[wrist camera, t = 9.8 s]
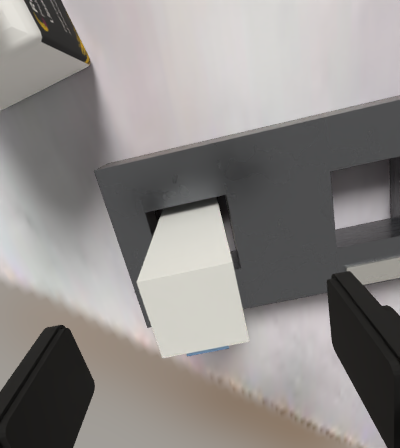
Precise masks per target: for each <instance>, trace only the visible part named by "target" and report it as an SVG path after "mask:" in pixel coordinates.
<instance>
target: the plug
mask: <svg viewBox="0 0 400 448" xmlns="http://www.w3.org/2000/svg"><path fill="white" fill-rule="evenodd" d="M137 285H138V288H139V291H140V294H141V297H142V300H143V303H144V306H145V309H146V312H147V315H148V318H149V321H150V324H151V326H152V329H153V332H154V335H155V338H156V341H157V344H158V347H159V350H160V353H161V356H162V358H167V357H172V356H177V355H182V354H187V356H192V355H197V354H202V353H207V352H213V351H218V350H223V349H228V348H229V345H234V344H239V343H245V342H250V341H249V336H248V331H247V327H246V322H245V318H244V313H243V308H242V304H241V299H240V294H239V290H238V285H237V280H236V276H235V271H234V266H233V262H232V258H231V254H230V250H229V246H228V242H227V238H226V234H225V229H224V225H223V221H222V217H221V213H220V209H219V205H218V201H217V197H213V198H209V199H204V200H199V201H195V202H190V203H186V204H181V205H177V206H172V207H168V208H163V210H162V213H161V216H160V219H159V222H158V224H157V227H156V230H155V233H154V235H153V238H152V241H151V244H150V246H149V249H148V252H147V255H146V258H145V260H144V263H143V266H142V269H141V271H140V274H139V277H138V280H137Z"/></svg>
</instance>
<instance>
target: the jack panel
mask: <svg viewBox="0 0 400 448" xmlns="http://www.w3.org/2000/svg"><path fill="white" fill-rule="evenodd" d="M385 159H390V197H391V218H390V219H385V220H380V221H375V222H371V223H366V224H361V225H356V226H351V227H347V228H342V229H337V230H335V222H334V210H333V198H332V186H331V174H330V172H331V171H335V170H340V169H344V168H349V167H353V166H358V165H362V164H367V163H371V162H376V161H381V160H385ZM94 172H95V175H96V178H97V181H98V184H99V187H100V190H101V193H102V196H103V199H104V202H105V205H106V208H107V210H108V213H109V216H110V219H111V222H112V225H113V228H114V231H115V234H116V237H117V240H118V243H119V246H120V249H121V251H122V254H123V257H124V260H125V263H126V266H127V269H128V272H129V275H130V278H131V281H132V284H133V287H134V290H135V293H136V295H137V298H138V301H139V304H140V307H141V310H142V313H143V316H144V319H145V322H146V325H147V328H149V327H152V326H151V324H150V321H149V318H148V315H147V312H146V309H145V306H144V303H143V300H142V297H141V294H140V291H139V288H138V285H137V280H138V277H139V274H140V271H141V269H142V266H143V263H144V260H145V258H146V255H147V252H148V249H149V246H150V244H151V241H152V238H153V235H154V233H155V230H156V227H157V224H158V222H157V219H156V215H155V212H154V210H159V209H163V208H168V207H172V206H177V205H181V204H186V203H190V202H195V201H199V200H204V199H209V198H213V197H218V196H222V195H225V198H226V203H227V208H228V213H229V218H230V223H231V228H232V233H233V238H234V243H235V248H236V251H232V252H230V254H231V258H232V262H233V266H234V271H235V276H236V280H237V285H238V290H239V294H240V299H241V304H242V308H243V309H246V308H251V307H256V306H261V305H266V304H272V303H277V302H282V301H287V300H292V299H297V298H302V297H307V296H312V295H317V294H323V293H328V292H327V280H328V279H331V276H332V274H335V273H341V272H346V271H350V272H352V273H353V275H354V276H355V277H356V278H357V279H358V280H359V281H360V282H361V283H362V285H368V284H374V283H379V282H384V281H389V280H394V279H399V278H400V95H399V96H395V97H391V98H387V99H382V100H378V101H374V102H369V103H365V104H361V105H357V106H352V107H348V108H344V109H339V110H335V111H331V112H327V113H322V114H318V115H314V116H309V117H305V118H301V119H297V120H292V121H288V122H284V123H279V124H275V125H271V126H267V127H262V128H258V129H254V130H249V131H245V132H241V133H237V134H232V135H228V136H224V137H219V138H215V139H211V140H207V141H202V142H198V143H194V144H189V145H185V146H181V147H177V148H172V149H168V150H164V151H159V152H155V153H151V154H147V155H142V156H138V157H134V158H129V159H125V160H121V161H117V162H112V163H108V164H106V165H104V166H102V167H100V168H98V169H96V170H95V171H94Z"/></svg>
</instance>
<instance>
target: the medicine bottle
mask: <svg viewBox="0 0 400 448" xmlns="http://www.w3.org/2000/svg"><path fill="white" fill-rule="evenodd" d="M89 65H90V58H89V56H88V54H87V52H86V50H85V48H84V46H83V44H82V42H81V40H80V38H79V36H78V34H77V32H76V30H75V28H74V26H73V24H72V22H71V20H70V18H69V16H68V14H67V12H66V10H65V8H64V6H63V4H62V2H61V0H0V110H4V109H6V108H7V107H9V106H11V105H13V104H15V103H17V102H19V101H21V100H23V99H25V98H27V97H29V96H31V95H33V94H35V93H37V92H39V91H41V90H43V89H45V88H47V87H49V86H51V85H53V84H55V83H57V82H59V81H61V80H63V79H65V78H67V77H69V76H71V75H73V74H75V73H77V72H79V71H81V70H83V69H85V68H87V67H88V66H89Z"/></svg>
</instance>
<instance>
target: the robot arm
mask: <svg viewBox="0 0 400 448" xmlns="http://www.w3.org/2000/svg"><path fill="white" fill-rule="evenodd" d="M327 292H328V303H329V315H330V326H331V337H332V344H333V347H334V350H335V352H336V354H337V356H338V358H339V359H340V361H341V363H342V365H343V367H344V369H345V370H346V372H347V374H348V376H349V378H350V380H351V381H352V383H353V385H354V387H355V389H356V391H357V393H358V394H359V396H360V398H361V400H362V402H363V404H364V405H365V407H366V409H367V411H368V413H369V415H370V416H371V418H372V420H373V422H374V424H375V426H376V428H377V429H378V431H379V433H380V435H381V437H382V439H383V440H384V442H385V444H386V446H387V448H400V316H399V315H398V314H397V312H396V311H395V310H394V309H393V308H391V307H390V306H387V305H386V306H381V305H380V304H379V302H378V301H377V300H376V299H375V298H374V297H373V296H372V295H371V293H370V292H369V291H368V290H367V289H366V288H365V287H364V286H363V285H362V283H361V282H360V281H359V280H358V279H357V278H356V277H355V276H354V275H353V273H352V272H350V271H346V272H341V273H335V274H332V276H331V279H328V280H327ZM94 388H95V385H94V380H93V378H92V376H91V374H90V371H89V369H88V367H87V365H86V363H85V361H84V359H83V356H82V355H81V352H80V350H79V348H78V346H77V344H76V342H75V339H74V337H73V335H72V333H71V331H70V329H68V328H65V326H63V325H58V326H53V327H47V328H45V329H44V331H43V332H42V333H41V334H40V336H39V337H38V339H37V340H36V342H35V343H34V345H33V346H32V347H31V349H30V350H29V352H28V353H27V354H26V356H25V357H24V359H23V360H22V362H21V363H20V365H19V366H18V367H17V369H16V370H15V372H14V373H13V374H12V376H11V377H10V379H9V380H8V381H7V383H6V385H5V386H4V387H3V389H2V390H1V392H0V448H73V446H74V444H75V441H76V438H77V436H78V433H79V430H80V428H81V425H82V422H83V420H84V417H85V414H86V411H87V409H88V406H89V404H90V401H91V398H92V396H93V393H94Z"/></svg>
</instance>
